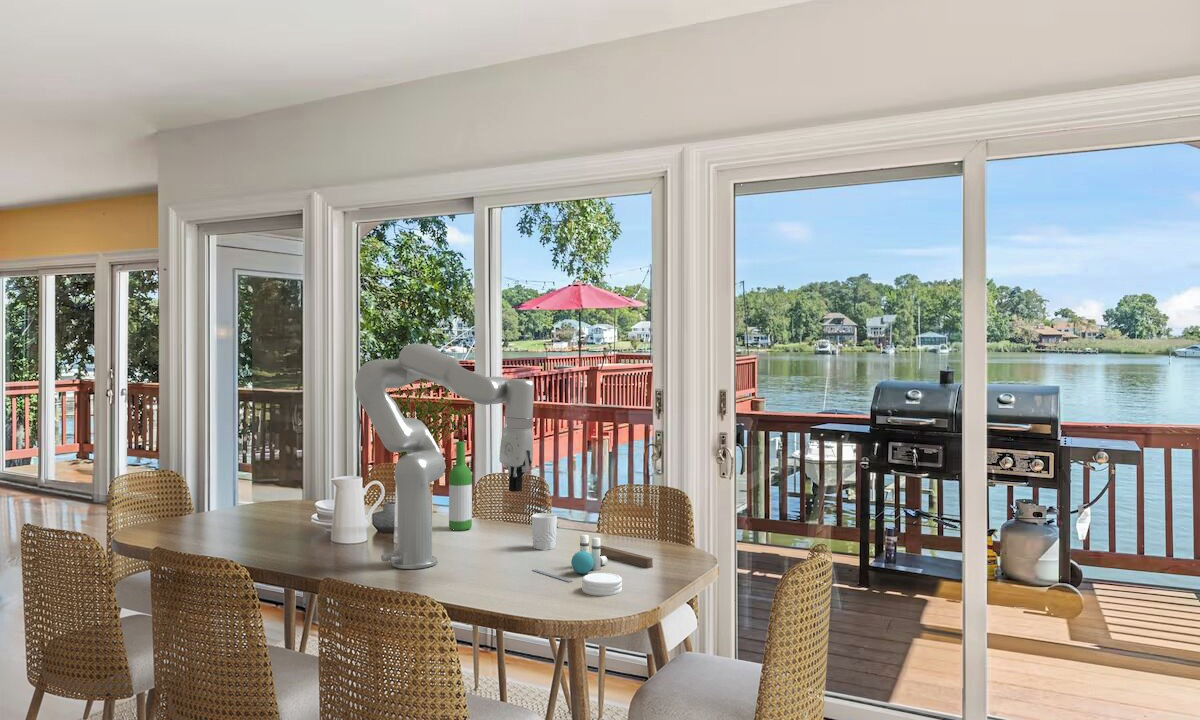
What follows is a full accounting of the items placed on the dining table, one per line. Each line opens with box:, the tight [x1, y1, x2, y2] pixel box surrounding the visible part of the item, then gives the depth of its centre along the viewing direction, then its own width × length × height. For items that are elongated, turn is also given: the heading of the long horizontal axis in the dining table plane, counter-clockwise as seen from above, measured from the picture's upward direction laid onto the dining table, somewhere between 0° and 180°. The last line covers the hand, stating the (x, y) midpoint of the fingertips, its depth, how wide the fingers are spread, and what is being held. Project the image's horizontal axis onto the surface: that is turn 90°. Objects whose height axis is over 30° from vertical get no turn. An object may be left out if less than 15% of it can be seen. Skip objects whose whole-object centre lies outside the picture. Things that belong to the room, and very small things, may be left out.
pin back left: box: [579, 534, 590, 554], centre depth 227 cm, size 2×2×8 cm
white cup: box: [531, 512, 558, 550], centre depth 250 cm, size 8×8×10 cm
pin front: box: [600, 556, 608, 567], centre depth 226 cm, size 2×2×8 cm
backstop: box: [600, 544, 654, 569], centre depth 234 cm, size 2×22×2 cm, turn 42°
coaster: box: [581, 572, 623, 597], centre depth 203 cm, size 10×10×4 cm
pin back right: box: [591, 537, 601, 571], centre depth 223 cm, size 2×2×8 cm
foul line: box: [531, 569, 574, 583], centre depth 216 cm, size 1×16×1 cm, turn 41°
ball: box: [571, 550, 594, 575], centre depth 219 cm, size 6×6×6 cm
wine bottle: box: [448, 441, 473, 531], centre depth 279 cm, size 8×8×30 cm
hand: (515, 490), depth 221 cm, fingers closed
